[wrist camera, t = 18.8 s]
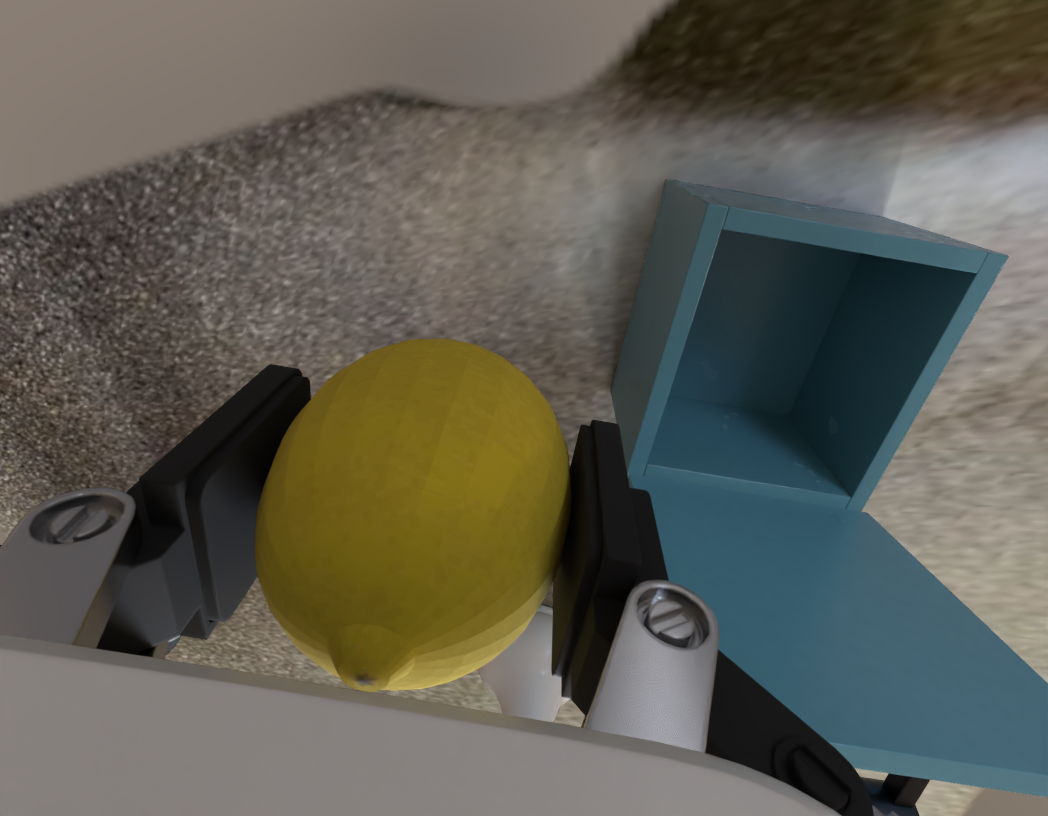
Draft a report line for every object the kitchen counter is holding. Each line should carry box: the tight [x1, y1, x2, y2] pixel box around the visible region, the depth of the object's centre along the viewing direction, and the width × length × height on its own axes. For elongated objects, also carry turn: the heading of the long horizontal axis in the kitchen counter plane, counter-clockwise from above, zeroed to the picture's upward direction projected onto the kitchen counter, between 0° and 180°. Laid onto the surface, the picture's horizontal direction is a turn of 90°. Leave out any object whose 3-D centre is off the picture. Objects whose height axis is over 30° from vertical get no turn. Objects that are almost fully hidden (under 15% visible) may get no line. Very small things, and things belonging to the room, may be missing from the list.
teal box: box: [611, 179, 1008, 512], centre depth 30 cm, size 14×13×10 cm
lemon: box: [255, 339, 572, 692], centre depth 11 cm, size 6×6×8 cm
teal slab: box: [628, 474, 1048, 816], centre depth 23 cm, size 15×13×6 cm
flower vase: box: [479, 605, 570, 723], centre depth 38 cm, size 13×18×25 cm
